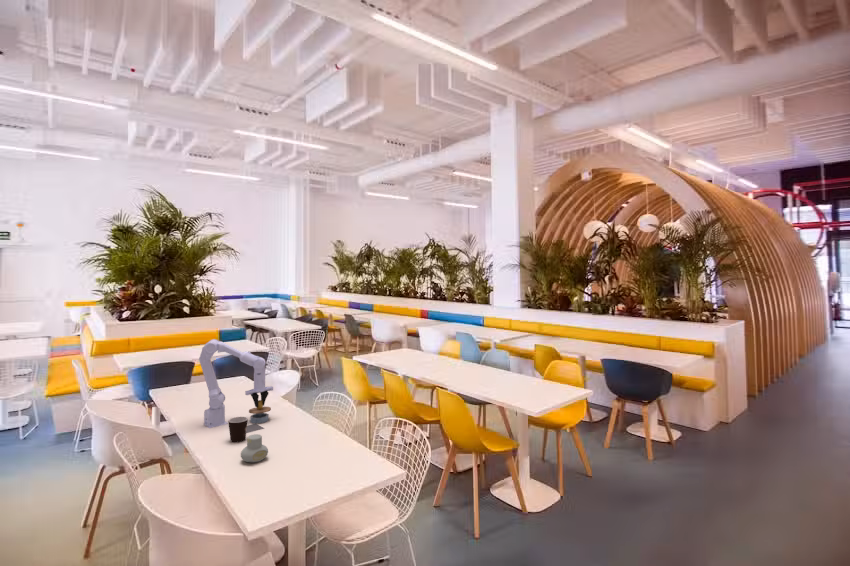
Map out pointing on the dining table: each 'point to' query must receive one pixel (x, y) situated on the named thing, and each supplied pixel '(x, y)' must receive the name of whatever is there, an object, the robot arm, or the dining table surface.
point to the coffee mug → (238, 428)
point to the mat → (253, 428)
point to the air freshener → (254, 449)
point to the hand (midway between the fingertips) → (259, 406)
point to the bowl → (259, 418)
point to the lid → (259, 408)
